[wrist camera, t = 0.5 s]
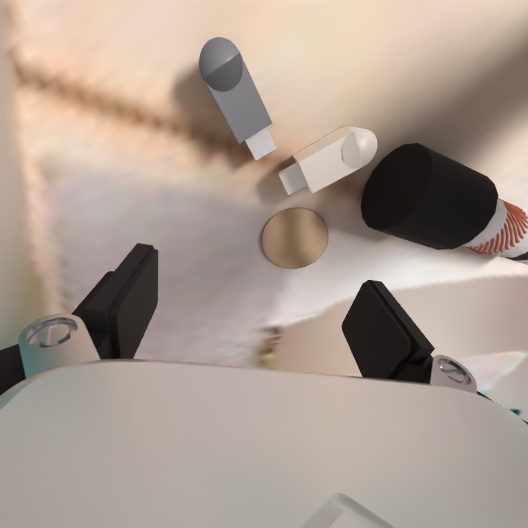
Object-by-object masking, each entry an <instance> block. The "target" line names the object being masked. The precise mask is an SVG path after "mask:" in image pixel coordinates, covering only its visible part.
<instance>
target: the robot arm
mask: <svg viewBox="0 0 528 528" xmlns="http://www.w3.org/2000/svg"><path fill="white" fill-rule="evenodd" d="M157 302H158V250H156V249H154V247H153V245H147V244H140V243H138V244H136V246H135V247H134V248H133V249H132V251H131V252H130V253H129V254H128V255H127V257H126V258H125V259H124V260H123V262H122V263H121V264H120V265H119V266H118V268H117V269H116V270H115V271H109V272H107V273H106V274H105V275H104V277H103V278H102V279H101V280H100V281H99V282H98V284H97V285H96V286H95V287H94V288H93V289H92V291H91V292H90V293H89V294H88V295H87V296H86V298H85V299H84V300H83V301H82V302H81V303H80V305H79V306H78V307H77V308H76V309H75V310H74V312H73V313H72V314H55V315H50V316H46V317H44V318H41V319H38V320H36V321H35V322H33V323H31V324H29V325H28V326H27V327H26V328H25V329H24V330H23V331H22V332H21V334H20V336H19V341H18V343H19V344H17V345H14V346H11V347H8V348H6V349H3V350H0V528H528V422H526V421H524V420H523V419H521V418H520V417H519V416H517V415H516V414H515V413H513V412H512V411H510V410H508V409H507V408H505V407H503V406H502V405H500V404H498V403H495V402H494V401H492V400H491V399H489V398H488V397H486V396H484V395H483V394H481V393H480V392H478V391H477V385H476V381H475V379H474V377H473V376H472V374H471V373H470V372H469V371H468V370H467V369H466V368H465V367H464V366H463V365H461V364H460V363H459V362H457V361H455V360H454V359H452V358H449V357H447V356H443V355H437V356H435V357H434V358H433V357H432V356H431V355H430V354H431V353H432V351H433V350H434V349H435V348H434V347H433V346H432V344H431V343H430V342H429V341H428V339H427V338H426V337H425V336H424V334H423V333H422V332H421V331H420V329H419V328H418V327H417V326H416V324H415V323H414V322H413V321H412V319H411V318H410V317H409V316H408V314H407V313H406V312H405V311H404V309H403V308H402V307H401V305H400V304H399V303H398V302H397V300H396V299H395V298H394V297H393V295H392V294H391V293H390V292H389V290H388V289H387V288H386V287H385V285H384V284H383V283H382V282H380V281H374V280H368V281H366V282H364V283H363V284H362V286H361V288H360V290H359V292H358V294H357V296H356V298H355V300H354V301H353V304H352V306H351V308H350V310H349V311H348V313H347V315H346V317H345V319H344V321H343V323H342V331H343V333H344V336H345V338H346V340H347V342H348V344H349V347H350V349H351V351H352V354H353V356H354V358H355V360H356V363H357V365H358V367H359V370H360V372H361V374H362V377H356V376H346V375H335V374H324V373H313V372H301V371H290V370H279V369H267V368H255V367H243V366H231V365H219V364H207V363H194V362H181V361H167V360H149V359H133V357H134V355H135V353H136V351H137V349H138V346H139V344H140V342H141V340H142V338H143V335H144V333H145V331H146V329H147V327H148V324H149V322H150V320H151V318H152V316H153V313H154V311H155V309H156V306H157Z"/></svg>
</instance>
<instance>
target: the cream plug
mask: <svg viewBox="0 0 528 528" xmlns="http://www.w3.org/2000/svg"><path fill="white" fill-rule="evenodd" d="M376 151H377V139H376V136H375V135H374V133H373V132H371V131H370V130H368V129H363V128H358V127H352V126H343V127H341V128H339V129H337V130H335V131H334V132H332V133H330V134H328V135H327V136H325V137H323V138H322V139H320V140H318V141H316V142H315V143H313V144H311V145H309V146H308V147H306V148H304V149H303V150H301V151H299V152H297V153H296V154H294V155H293V158H294V160H295V162H296V163H294V164H293V165H291V166H289V167H287V168H285V169H284V170H282V171H280V172H278V175H279V177H280V179H281V181H282V183H283V185H284V187H285V189H286V191H287V193H288V195H291V194H292V193H294V192H296V191H298V190H300V189H302V188H303V187H305V186H307V187H308V188H309V190H310V191H311V192H312V194H313V193H315V192H317V191H318V190H320V189H322V188H324V187H326V186H328V185H330V184H332V183H334V182H335V181H337V180H339V179H341V178H343V177H345V176H347V175H349V174H350V173H352V172H354V171H356V170H358V169H360V168H362V167H364V166H365V165H367V164H368V163H369V162H370V161H371V160H372V159H373V158H374V156H375V154H376Z"/></svg>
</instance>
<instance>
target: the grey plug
mask: <svg viewBox="0 0 528 528" xmlns="http://www.w3.org/2000/svg"><path fill="white" fill-rule="evenodd" d="M199 65H200V71H201V74H202V77H203V79H204V80H205V82H206V84H207V86H208V88H209V90H210V91H211V93H212V95H213V97H214V99H215V101H216V102H217V104H218V106H219V108H220V110H221V112H222V113H223V115H224V117H225V119H226V121H227V123H228V124H229V126H230V128H231V130H232V132H233V134H234V135H235V137H236V139H237V141H238V143H239V144H240V143H241V142H243V141H246V143H247V145H248V147H249V149H250V151H251V153H252V154H253V156H254V158H255V160H258V159H260V158H261V157H263V156H265V155H266V154H268V153H270V152H271V151H273V150H275V149H276V148H277V147H276V145H275V143H274V141H273V138H272V136H271V134H270V132H269V130H268V128H267V126H269V125H270V124H272V122H271V119H270V117H269V115H268V113H267V111H266V109H265V106H264V104H263V102H262V100H261V98H260V96H259V93H258V91H257V89H256V87H255V85H254V83H253V80H252V78H251V76H250V74H249V72H248V70H247V67H246V65H245V63H244V61H243V59H242V57H241V54H240V52H239V50H238V49H237V47H236V46H235V45H234V44H233V43H232V42H231V41H229V40H228V39H225V38H221V37H217V38H213V39H211V40H209V41H208V42H207V43H206V44H205V45H204V47H203V48H202V51H201V54H200V59H199Z"/></svg>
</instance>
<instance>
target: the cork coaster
mask: <svg viewBox="0 0 528 528" xmlns="http://www.w3.org/2000/svg"><path fill="white" fill-rule="evenodd" d="M327 242H328V230H327V227H326V225H325V223H324V221H323V220H322V219H321V217H320V216H319V215H317V214H316V213H315V212H313V211H311V210H308V209H305V208H290V209H286V210H283V211H281V212H279V213H278V214H276V215H275V216H274V217H272V218H271V219H270V220H269V222H268V223H267V225H266V226H265V229H264V231H263V235H262V245H263V249H264V252H265V254H266V256H267V257H268V258H269V259H270V260H271V261H272V262H273V263H274V264H276V265H278V266H280V267H283V268H288V269H297V268H302V267H305V266H308V265H310V264H311V263H313V262H315V261H316V260H317V259H318V258H319V257H320V256H321V255H322V253H323V252H324V250H325V248H326V246H327Z"/></svg>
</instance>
